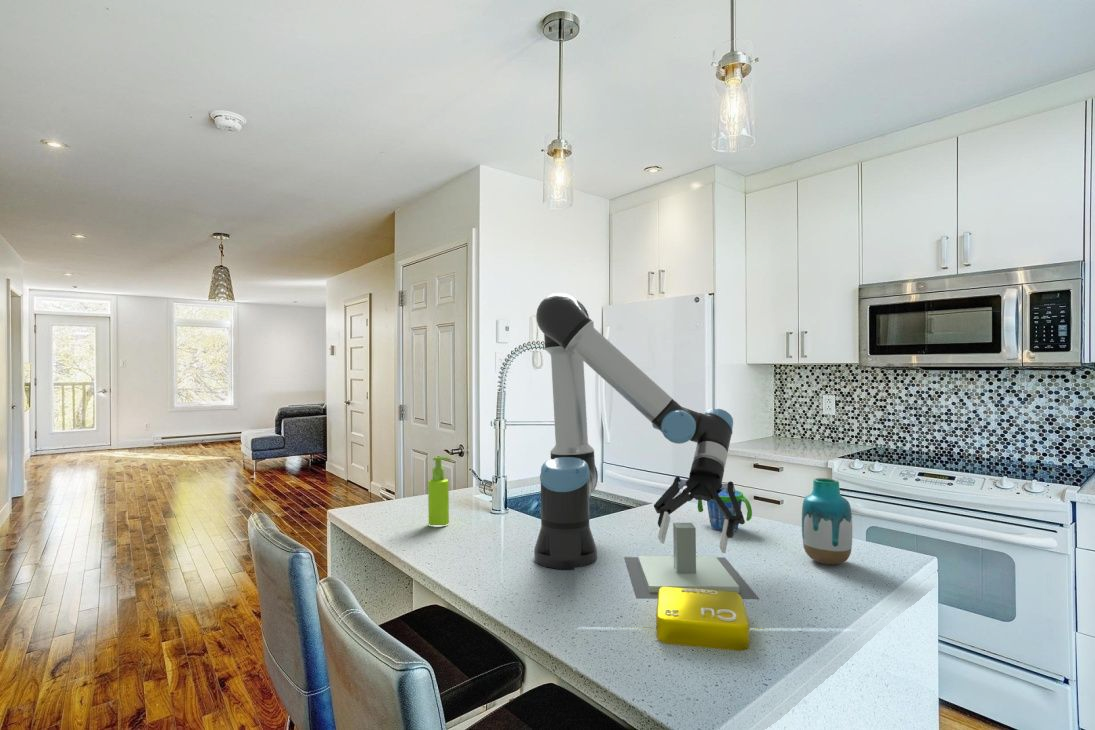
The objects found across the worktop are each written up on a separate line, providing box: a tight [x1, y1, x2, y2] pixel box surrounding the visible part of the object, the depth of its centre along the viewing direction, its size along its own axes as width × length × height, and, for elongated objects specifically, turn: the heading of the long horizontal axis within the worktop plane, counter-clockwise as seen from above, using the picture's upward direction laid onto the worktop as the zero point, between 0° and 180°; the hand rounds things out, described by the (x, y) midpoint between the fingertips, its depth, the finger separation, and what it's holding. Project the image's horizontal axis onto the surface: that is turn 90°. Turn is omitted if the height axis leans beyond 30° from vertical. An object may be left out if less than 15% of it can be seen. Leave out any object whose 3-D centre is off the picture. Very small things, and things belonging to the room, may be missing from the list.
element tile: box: [655, 587, 750, 652], centre depth 99 cm, size 15×15×5 cm
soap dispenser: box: [427, 456, 453, 525], centre depth 165 cm, size 6×7×20 cm
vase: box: [801, 477, 853, 565], centre depth 131 cm, size 11×11×19 cm
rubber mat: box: [623, 556, 760, 600], centre depth 122 cm, size 24×24×1 cm
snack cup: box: [697, 489, 753, 531], centre depth 159 cm, size 16×10×10 cm
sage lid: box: [637, 522, 739, 593], centre depth 122 cm, size 18×18×11 cm
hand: (690, 545), depth 122 cm, fingers open, 13 cm apart
